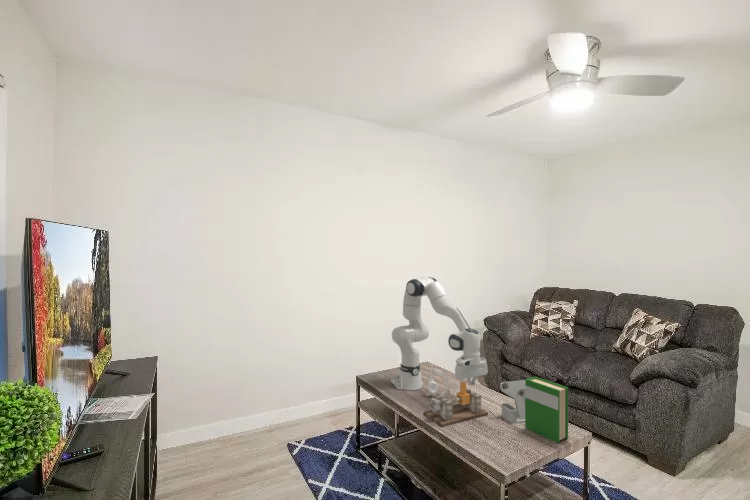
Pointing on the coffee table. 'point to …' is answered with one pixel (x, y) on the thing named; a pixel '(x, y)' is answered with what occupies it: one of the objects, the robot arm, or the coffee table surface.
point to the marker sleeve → (463, 394)
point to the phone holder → (509, 411)
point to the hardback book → (546, 408)
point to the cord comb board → (454, 409)
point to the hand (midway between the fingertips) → (471, 384)
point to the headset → (434, 387)
